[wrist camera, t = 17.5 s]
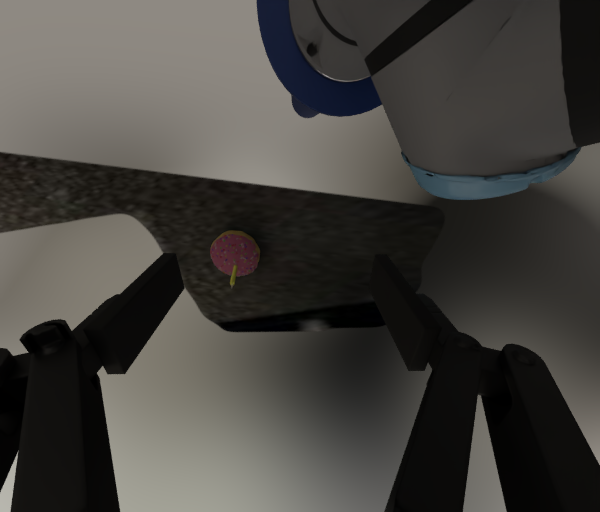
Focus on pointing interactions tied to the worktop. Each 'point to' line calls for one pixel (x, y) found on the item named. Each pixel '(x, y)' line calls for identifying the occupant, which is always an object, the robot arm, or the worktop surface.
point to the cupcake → (235, 254)
